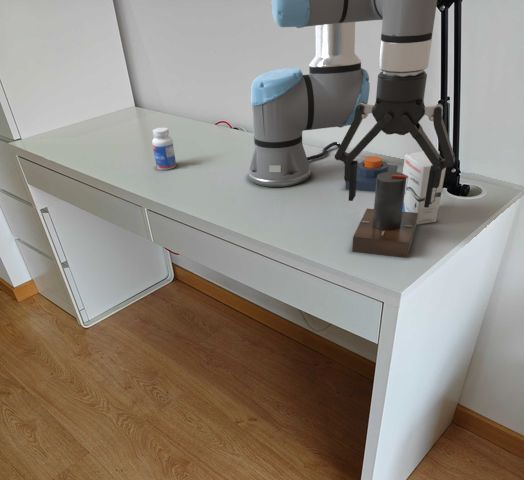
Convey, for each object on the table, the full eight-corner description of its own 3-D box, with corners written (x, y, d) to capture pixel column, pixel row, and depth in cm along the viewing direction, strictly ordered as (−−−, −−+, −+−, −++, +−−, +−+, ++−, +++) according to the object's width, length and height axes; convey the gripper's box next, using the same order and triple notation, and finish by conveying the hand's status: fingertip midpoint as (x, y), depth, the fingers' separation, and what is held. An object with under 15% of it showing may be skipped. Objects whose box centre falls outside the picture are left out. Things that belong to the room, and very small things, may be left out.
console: (365, 222, 102) (366, 207, 100) (415, 227, 99) (418, 212, 97) (352, 251, 93) (353, 235, 91) (407, 257, 90) (409, 241, 88)
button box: (356, 171, 125) (357, 155, 122) (396, 174, 122) (398, 157, 119) (345, 189, 116) (346, 172, 114) (388, 192, 113) (390, 175, 111)
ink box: (396, 209, 106) (403, 152, 99) (418, 205, 107) (426, 149, 99) (414, 225, 99) (423, 166, 92) (437, 222, 100) (448, 162, 93)
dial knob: (370, 228, 93) (374, 179, 87) (375, 217, 97) (379, 169, 91) (398, 231, 91) (404, 181, 85) (402, 219, 95) (408, 171, 89)
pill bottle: (152, 168, 136) (145, 130, 130) (166, 162, 139) (159, 125, 133) (166, 171, 133) (160, 133, 127) (180, 165, 136) (174, 127, 130)
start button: (366, 163, 119) (366, 155, 118) (382, 164, 118) (383, 156, 117) (362, 168, 116) (363, 161, 115) (379, 169, 115) (380, 162, 114)
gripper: (488, 66, 77) (461, 198, 90) (330, 65, 84) (327, 188, 98) (487, 77, 71) (459, 216, 85) (319, 75, 79) (317, 203, 92)
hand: (388, 201), depth 91 cm, fingers open, 13 cm apart
